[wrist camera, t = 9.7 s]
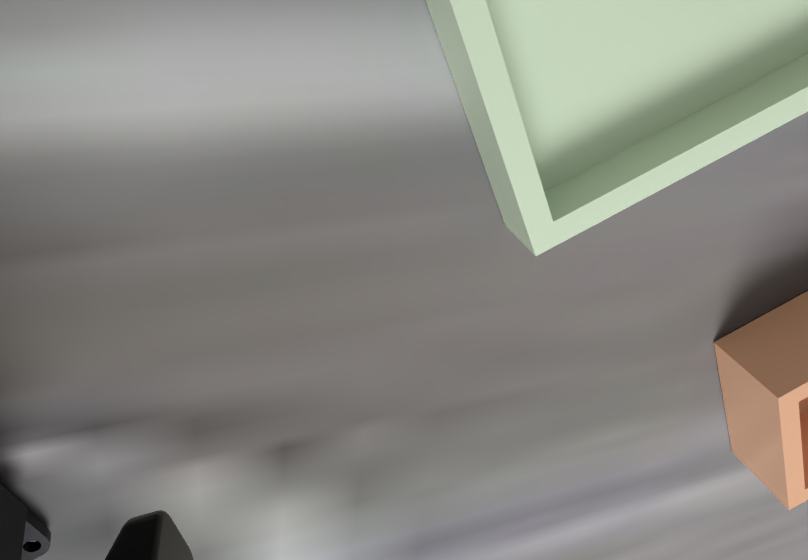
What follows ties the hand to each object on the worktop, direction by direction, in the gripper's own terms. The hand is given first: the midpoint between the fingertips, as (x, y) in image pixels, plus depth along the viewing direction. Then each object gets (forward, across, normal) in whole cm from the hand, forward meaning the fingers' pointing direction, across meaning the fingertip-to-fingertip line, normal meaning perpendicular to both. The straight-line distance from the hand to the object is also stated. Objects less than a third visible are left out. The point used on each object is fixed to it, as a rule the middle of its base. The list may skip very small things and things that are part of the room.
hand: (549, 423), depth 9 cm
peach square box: (+14, -15, +18) cm, 27 cm away
